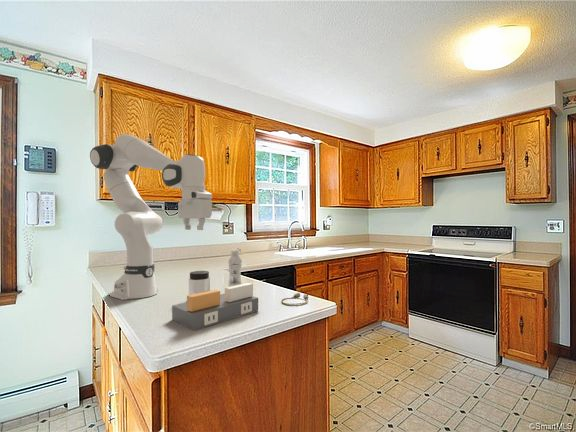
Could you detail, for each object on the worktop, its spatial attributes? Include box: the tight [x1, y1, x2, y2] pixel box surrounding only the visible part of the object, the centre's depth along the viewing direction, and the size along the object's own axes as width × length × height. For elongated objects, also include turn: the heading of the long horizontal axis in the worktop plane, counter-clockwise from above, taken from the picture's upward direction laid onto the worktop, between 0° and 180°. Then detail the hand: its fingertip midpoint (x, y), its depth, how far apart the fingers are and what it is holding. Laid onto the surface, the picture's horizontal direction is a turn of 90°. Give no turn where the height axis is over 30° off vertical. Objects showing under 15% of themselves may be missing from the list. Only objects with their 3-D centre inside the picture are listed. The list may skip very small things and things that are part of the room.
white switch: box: [224, 282, 254, 302], centre depth 112 cm, size 3×11×5 cm, turn 137°
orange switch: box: [186, 289, 221, 312], centre depth 101 cm, size 3×11×5 cm, turn 137°
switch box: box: [171, 293, 259, 331], centre depth 110 cm, size 22×27×5 cm
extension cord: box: [281, 292, 309, 307], centre depth 127 cm, size 12×16×2 cm
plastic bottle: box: [227, 249, 243, 287], centre depth 142 cm, size 6×7×20 cm
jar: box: [188, 270, 211, 295], centre depth 130 cm, size 9×8×12 cm
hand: (193, 229), depth 117 cm, fingers open, 8 cm apart
